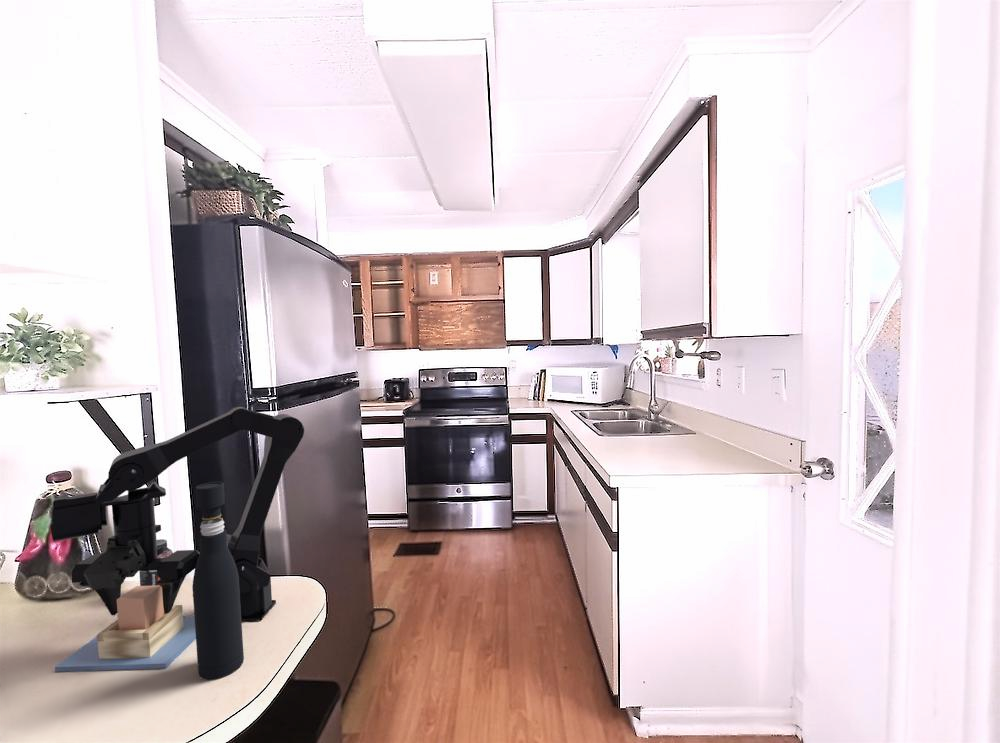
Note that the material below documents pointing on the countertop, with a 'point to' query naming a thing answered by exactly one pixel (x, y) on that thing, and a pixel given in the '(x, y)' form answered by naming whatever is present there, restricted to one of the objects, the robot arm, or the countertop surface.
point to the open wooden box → (139, 637)
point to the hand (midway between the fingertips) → (141, 613)
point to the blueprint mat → (162, 658)
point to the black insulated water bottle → (216, 592)
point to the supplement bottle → (151, 576)
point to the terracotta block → (140, 608)
